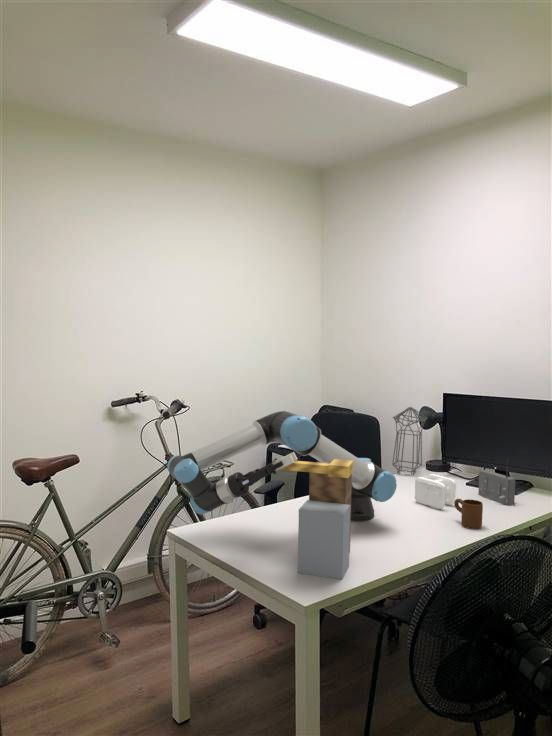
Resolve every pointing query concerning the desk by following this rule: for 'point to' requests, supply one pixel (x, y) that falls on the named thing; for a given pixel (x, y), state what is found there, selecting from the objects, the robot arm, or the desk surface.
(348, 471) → the handle bar
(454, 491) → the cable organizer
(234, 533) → the desk surface
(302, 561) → the grey stand
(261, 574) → the desk surface
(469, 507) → the mug
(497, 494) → the electronic device
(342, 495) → the walnut post
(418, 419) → the geometric lantern
